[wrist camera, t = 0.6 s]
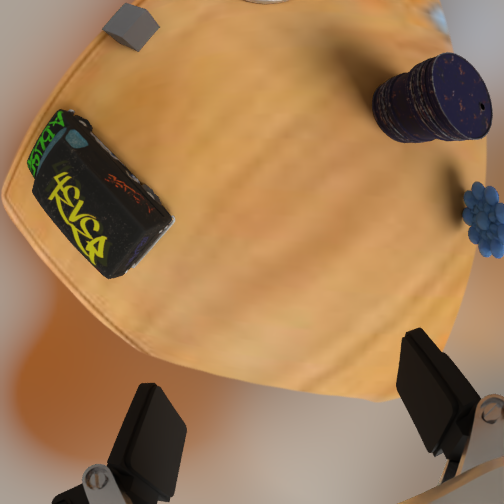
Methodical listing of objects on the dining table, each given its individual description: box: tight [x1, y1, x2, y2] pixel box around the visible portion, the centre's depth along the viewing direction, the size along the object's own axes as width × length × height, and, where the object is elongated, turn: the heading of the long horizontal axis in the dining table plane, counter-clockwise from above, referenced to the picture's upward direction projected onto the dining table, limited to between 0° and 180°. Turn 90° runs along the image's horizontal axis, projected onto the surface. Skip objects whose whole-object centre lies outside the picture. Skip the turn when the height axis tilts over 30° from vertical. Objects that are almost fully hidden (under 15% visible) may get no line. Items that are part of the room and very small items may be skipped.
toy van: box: [27, 109, 175, 279], centre depth 30 cm, size 11×25×10 cm, turn 44°
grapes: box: [462, 182, 504, 258], centre depth 29 cm, size 12×7×12 cm, turn 9°
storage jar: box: [372, 52, 493, 143], centre depth 24 cm, size 10×10×15 cm
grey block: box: [102, 3, 160, 52], centre depth 24 cm, size 5×4×6 cm
